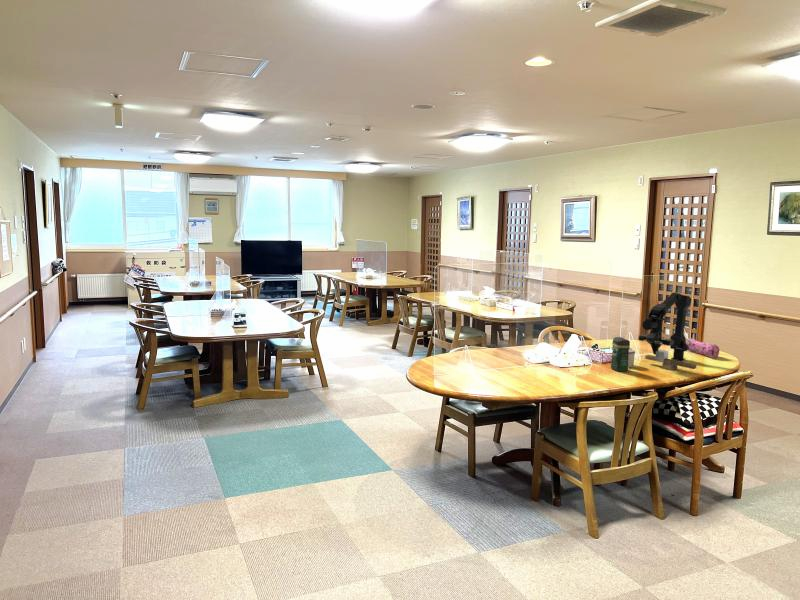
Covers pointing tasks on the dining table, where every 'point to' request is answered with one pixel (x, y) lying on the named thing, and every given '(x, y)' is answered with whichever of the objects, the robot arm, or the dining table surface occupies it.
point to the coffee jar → (620, 354)
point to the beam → (672, 363)
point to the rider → (661, 355)
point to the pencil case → (703, 348)
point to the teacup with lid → (631, 357)
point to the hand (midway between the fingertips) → (654, 354)
